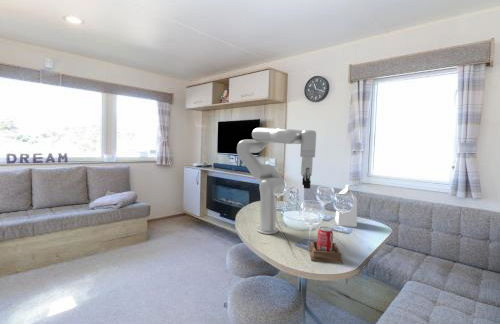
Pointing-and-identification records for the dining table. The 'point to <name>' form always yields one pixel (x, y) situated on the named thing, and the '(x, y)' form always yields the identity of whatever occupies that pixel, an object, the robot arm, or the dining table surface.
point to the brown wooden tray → (325, 254)
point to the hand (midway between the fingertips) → (306, 186)
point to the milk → (348, 217)
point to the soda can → (325, 239)
